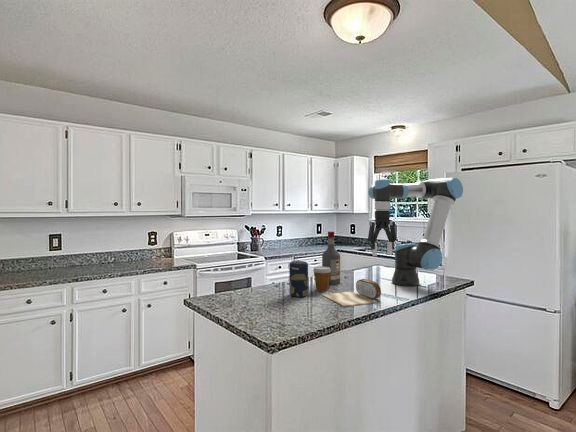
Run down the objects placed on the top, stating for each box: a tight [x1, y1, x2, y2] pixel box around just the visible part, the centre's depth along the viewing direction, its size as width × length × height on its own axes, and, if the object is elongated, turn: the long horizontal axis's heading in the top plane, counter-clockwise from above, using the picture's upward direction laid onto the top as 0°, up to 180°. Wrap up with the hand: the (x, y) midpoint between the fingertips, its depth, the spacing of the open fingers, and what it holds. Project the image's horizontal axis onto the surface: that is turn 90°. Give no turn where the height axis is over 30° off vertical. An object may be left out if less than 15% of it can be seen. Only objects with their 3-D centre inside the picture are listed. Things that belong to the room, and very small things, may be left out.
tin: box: [355, 278, 382, 300], centre depth 173 cm, size 15×3×8 cm, turn 32°
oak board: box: [322, 291, 377, 308], centre depth 169 cm, size 17×21×1 cm
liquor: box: [321, 231, 341, 285], centre depth 205 cm, size 9×9×30 cm
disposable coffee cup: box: [312, 265, 331, 292], centre depth 188 cm, size 10×10×12 cm
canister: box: [288, 259, 309, 298], centre depth 176 cm, size 10×10×18 cm
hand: (382, 255), depth 176 cm, fingers open, 8 cm apart
